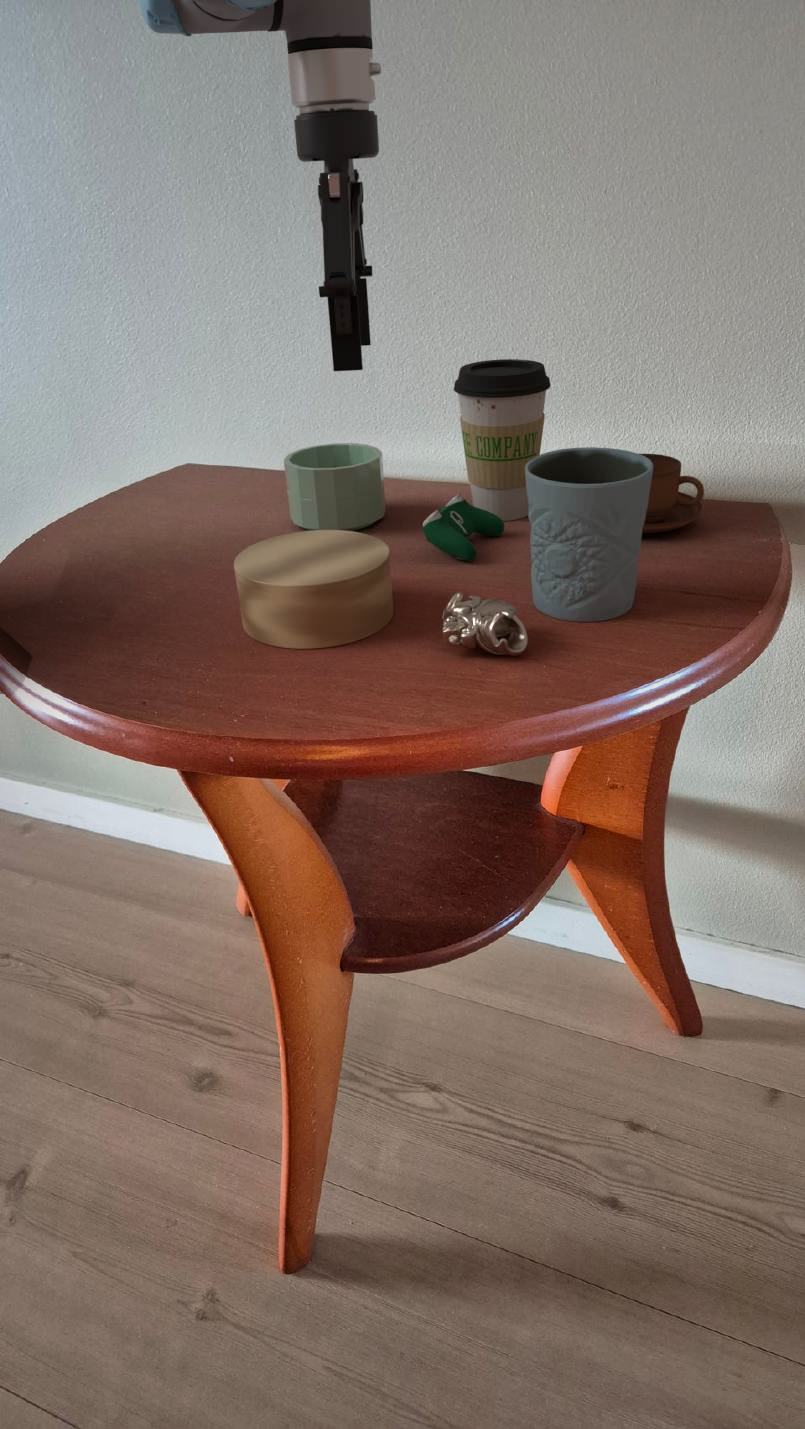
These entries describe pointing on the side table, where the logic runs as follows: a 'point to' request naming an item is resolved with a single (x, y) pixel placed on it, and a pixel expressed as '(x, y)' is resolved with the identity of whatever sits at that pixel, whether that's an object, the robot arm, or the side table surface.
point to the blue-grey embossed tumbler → (586, 530)
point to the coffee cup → (501, 430)
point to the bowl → (335, 486)
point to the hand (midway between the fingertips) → (353, 357)
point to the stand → (314, 588)
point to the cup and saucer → (670, 496)
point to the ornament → (483, 625)
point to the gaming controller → (460, 527)
